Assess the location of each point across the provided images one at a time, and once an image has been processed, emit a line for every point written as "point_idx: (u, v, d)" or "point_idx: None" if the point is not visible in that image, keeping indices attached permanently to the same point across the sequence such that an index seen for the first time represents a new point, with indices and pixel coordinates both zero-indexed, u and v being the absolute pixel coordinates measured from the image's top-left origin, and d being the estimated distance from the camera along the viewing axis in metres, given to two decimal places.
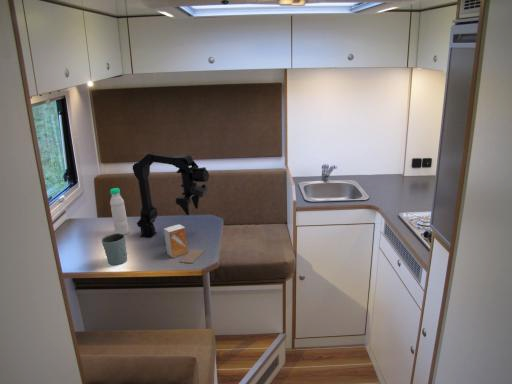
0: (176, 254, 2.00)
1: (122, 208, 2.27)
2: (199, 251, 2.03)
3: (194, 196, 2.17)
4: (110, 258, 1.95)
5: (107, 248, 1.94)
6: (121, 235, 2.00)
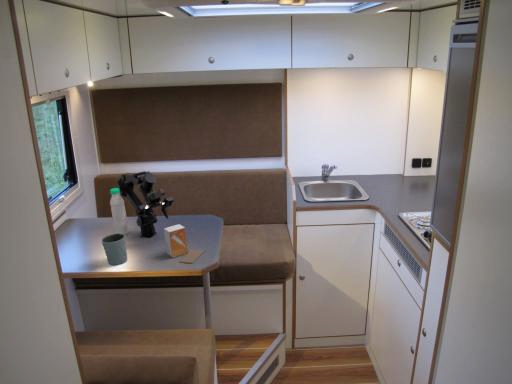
0: (176, 254, 2.00)
1: (122, 208, 2.27)
2: (199, 251, 2.03)
3: (162, 208, 2.14)
4: (110, 258, 1.95)
5: (107, 248, 1.94)
6: (121, 235, 2.00)
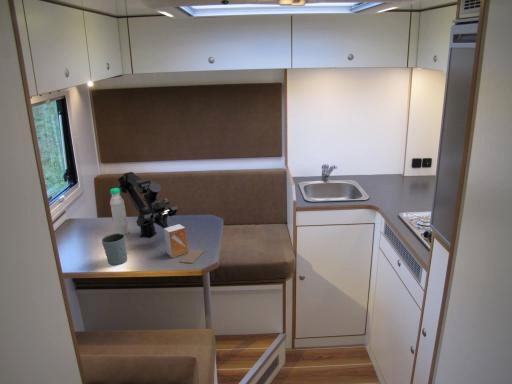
0: (176, 254, 2.00)
1: (122, 208, 2.27)
2: (199, 251, 2.03)
3: (162, 219, 2.11)
4: (110, 258, 1.95)
5: (107, 248, 1.94)
6: (121, 235, 2.00)
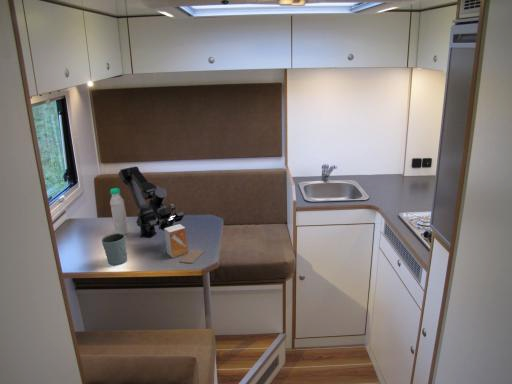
0: (176, 254, 2.00)
1: (122, 208, 2.27)
2: (199, 251, 2.03)
3: (168, 224, 2.07)
4: (110, 258, 1.95)
5: (107, 248, 1.94)
6: (121, 235, 2.00)
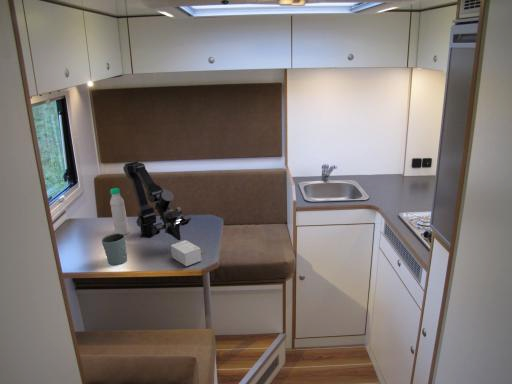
0: None
1: (122, 208, 2.27)
2: None
3: (174, 228, 2.03)
4: (110, 258, 1.95)
5: (107, 248, 1.94)
6: (121, 235, 2.00)
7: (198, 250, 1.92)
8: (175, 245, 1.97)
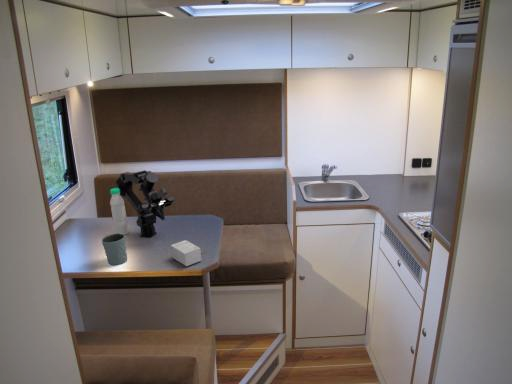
0: None
1: (122, 208, 2.27)
2: None
3: None
4: (110, 258, 1.95)
5: (107, 248, 1.94)
6: (121, 235, 2.00)
7: (198, 250, 1.92)
8: (175, 245, 1.97)
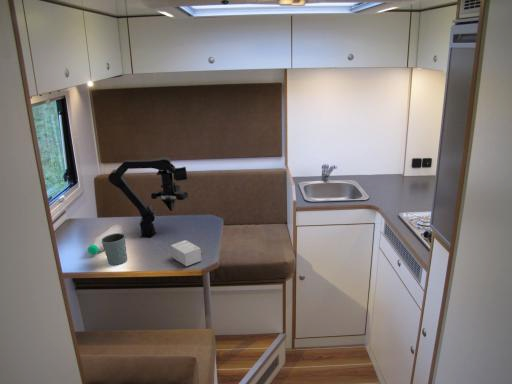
0: None
1: None
2: None
3: (168, 199, 2.24)
4: (110, 258, 1.95)
5: (107, 248, 1.94)
6: (121, 235, 2.00)
7: (198, 250, 1.92)
8: (175, 245, 1.97)
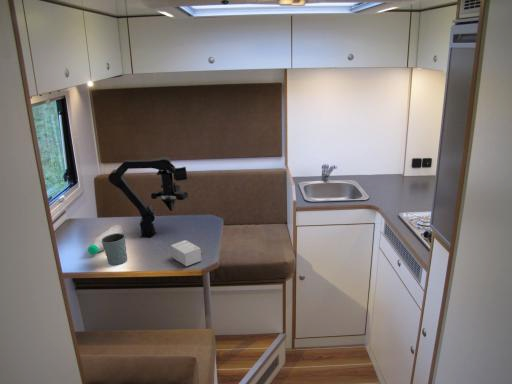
0: None
1: None
2: None
3: (168, 199, 2.24)
4: (110, 258, 1.95)
5: (107, 248, 1.94)
6: (121, 235, 2.00)
7: (198, 250, 1.92)
8: (175, 245, 1.97)
